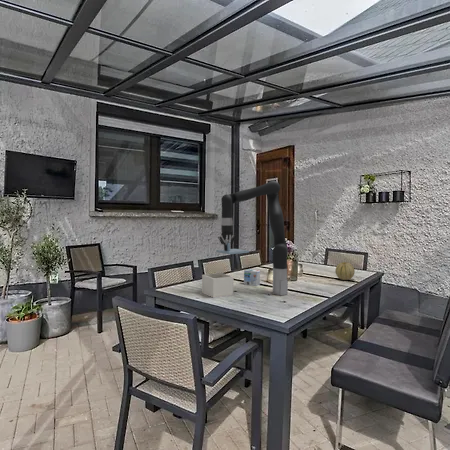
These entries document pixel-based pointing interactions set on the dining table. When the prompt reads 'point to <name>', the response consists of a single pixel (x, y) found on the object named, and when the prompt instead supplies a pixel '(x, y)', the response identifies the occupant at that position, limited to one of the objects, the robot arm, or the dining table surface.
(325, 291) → the dining table surface
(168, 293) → the dining table surface
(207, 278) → the tub
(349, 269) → the cantaloupe
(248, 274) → the light bulb box
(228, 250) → the lid
